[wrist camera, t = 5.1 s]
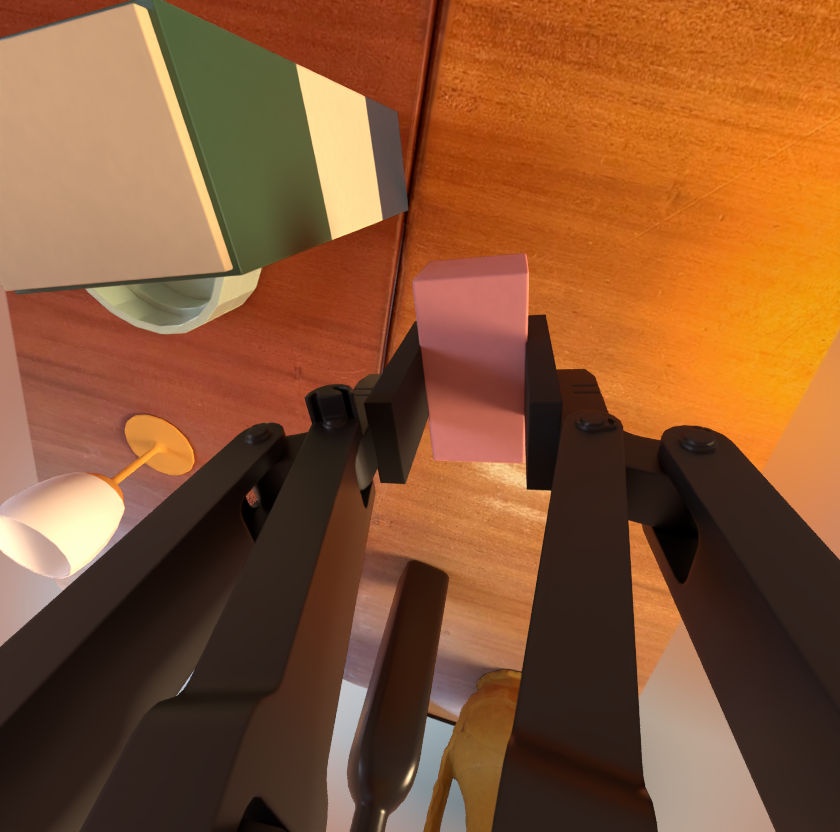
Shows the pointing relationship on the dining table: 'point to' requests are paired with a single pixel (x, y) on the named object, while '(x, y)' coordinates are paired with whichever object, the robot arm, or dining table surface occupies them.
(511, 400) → the eraser
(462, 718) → the pitcher
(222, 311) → the bowl
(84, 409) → the dining table surface
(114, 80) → the felt pad
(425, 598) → the wine bottle
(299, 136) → the book stack
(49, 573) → the cup
